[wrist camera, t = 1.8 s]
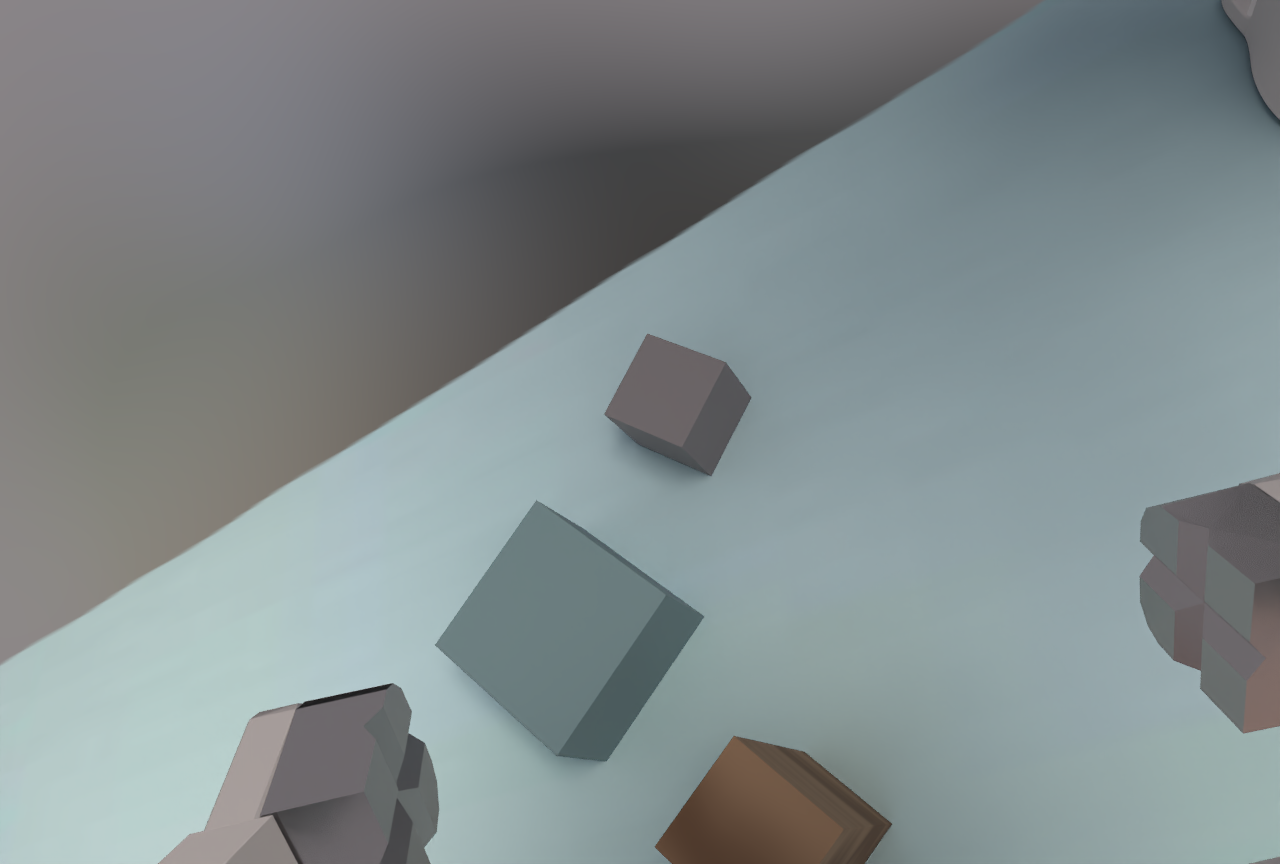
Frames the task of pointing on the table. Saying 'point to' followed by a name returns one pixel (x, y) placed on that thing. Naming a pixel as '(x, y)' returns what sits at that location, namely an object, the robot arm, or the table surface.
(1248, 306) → the table surface
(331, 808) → the robot arm
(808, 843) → the walnut block
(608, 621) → the teal base block
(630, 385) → the charcoal cube
